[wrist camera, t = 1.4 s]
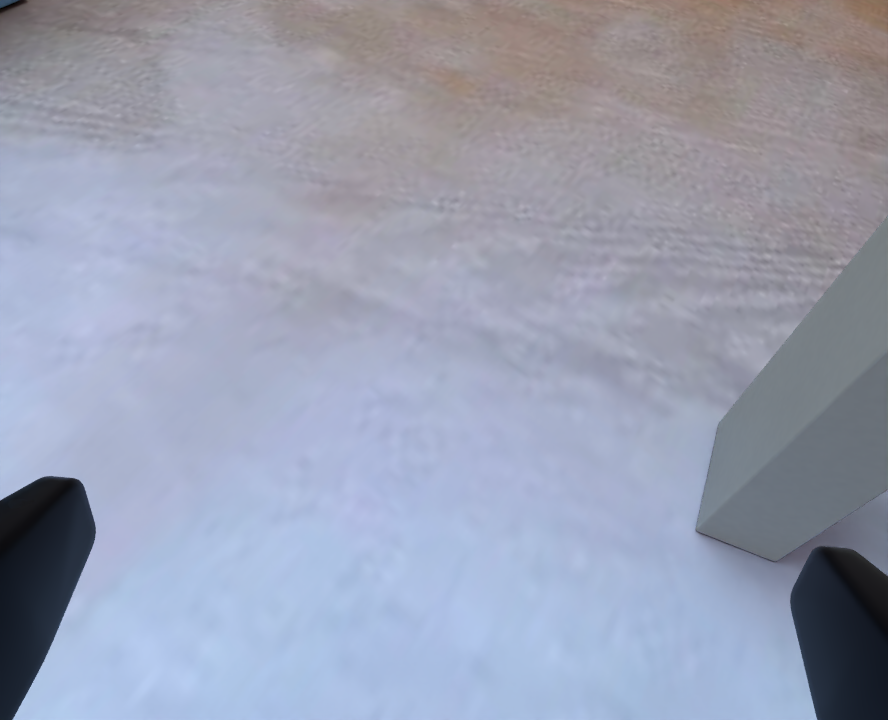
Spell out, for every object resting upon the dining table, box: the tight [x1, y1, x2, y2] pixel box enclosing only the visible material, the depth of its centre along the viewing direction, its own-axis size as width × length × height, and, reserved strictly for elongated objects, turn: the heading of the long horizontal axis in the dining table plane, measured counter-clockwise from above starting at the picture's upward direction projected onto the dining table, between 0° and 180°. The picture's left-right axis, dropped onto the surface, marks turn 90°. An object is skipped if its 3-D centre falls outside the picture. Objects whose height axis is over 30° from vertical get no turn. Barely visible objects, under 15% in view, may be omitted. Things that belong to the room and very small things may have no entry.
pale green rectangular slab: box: [696, 216, 888, 562], centre depth 21 cm, size 3×5×13 cm, turn 157°
